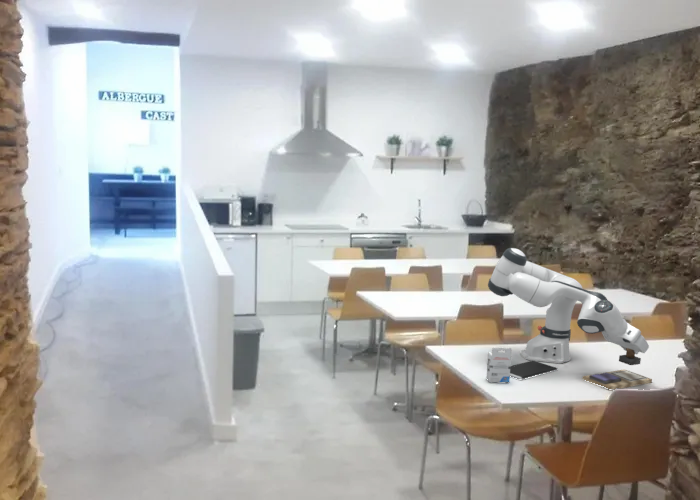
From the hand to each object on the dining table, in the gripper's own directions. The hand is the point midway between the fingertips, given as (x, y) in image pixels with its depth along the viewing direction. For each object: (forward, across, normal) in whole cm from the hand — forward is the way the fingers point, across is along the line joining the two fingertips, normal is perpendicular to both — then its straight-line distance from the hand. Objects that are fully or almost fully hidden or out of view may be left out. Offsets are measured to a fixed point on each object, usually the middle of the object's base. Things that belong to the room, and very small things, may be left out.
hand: (632, 351), depth 294 cm
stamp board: (+4, 0, -14) cm, 14 cm away
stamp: (+3, 0, -4) cm, 5 cm away
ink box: (-30, -19, -49) cm, 61 cm away
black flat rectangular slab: (-15, -25, -34) cm, 44 cm away
